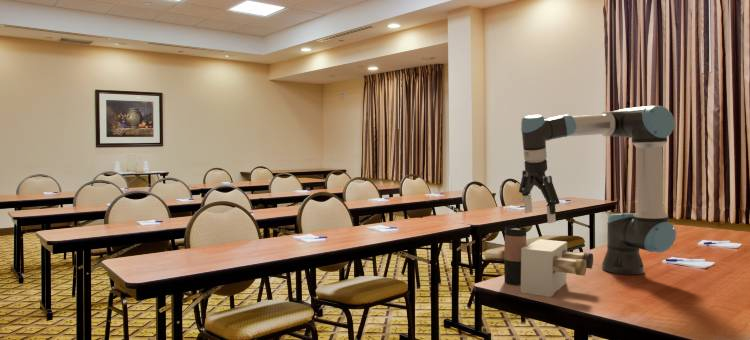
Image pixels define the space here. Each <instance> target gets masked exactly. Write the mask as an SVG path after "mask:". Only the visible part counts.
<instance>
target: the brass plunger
mask: <svg viewBox="0 0 750 340" xmlns="http://www.w3.org/2000/svg"><path fill="white" fill-rule="evenodd" d="M553 271H556V272H564V273H566V274H573V275H576V276H583V277H584V276H585V275H586V272H587V268H586V260H583V259H568V258H560V257H553Z"/></svg>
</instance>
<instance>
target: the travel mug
mask: <svg viewBox="0 0 750 340" xmlns="http://www.w3.org/2000/svg"><path fill="white" fill-rule="evenodd" d="M525 246H527V227H520V228H517V227H515V226H506V227H505V228H504V252H503V253H504V254H503V255H504V257H503V258H504V259H503V260H504V261H503V264H504V265H503V266H504V268H503V269H504V272H503V273H504V275H503V277H504V283H505V284H506V285H509V286H521V248H523V247H525Z"/></svg>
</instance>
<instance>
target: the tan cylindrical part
mask: <svg viewBox="0 0 750 340" xmlns="http://www.w3.org/2000/svg"><path fill="white" fill-rule="evenodd" d="M562 258H568V259H583V260H586V269H590V270H591V269H592V270H593V266H594V254H593V253H589V252H572V251H567V252H566V251H562Z"/></svg>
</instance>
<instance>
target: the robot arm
mask: <svg viewBox="0 0 750 340" xmlns="http://www.w3.org/2000/svg"><path fill="white" fill-rule="evenodd" d="M674 119H675V118H674V115H673V114H672V112H671V111H670V110H669V109H668V108H666V107H665V106H662V105H645V106H635V107H627V108H622V109H616V110H612V111H611V110H610V111H603V112H602V113H600V114H590V115H589V114H588V115H570V114H560V115H557V116H548V117H545V116H543V115H542V114H532V115H530V114H529V115H526V116H523V117H522V118H521V123H520V124H521V127H520V130H521V137H522V146H523V147H522V149H523V159H524V160H525V161H523V162H524V170H522V171H521V172H522V176H521V181H520V185H519V189H518V192H519V193H520V194H521V195H522V198H523V204H524V205H523V207H524V214H529V213H532V212H533V205H532V204H533V202H532V194H531V193H532V189H533V188H534V186H535V187H537V188H538V189H539V190H540V191H541V193H542V196H543V197H544V200H545V201H546V203H547V204H546V217H547V223H548V224H553V223H555V222H557V221H556V220H557V219H556V205H559V204H560V199H559V197H558V194H557V191H556V189H555V186H554V183H553V176H552V175H548V176H546V172H547V171H548V160H547V158H548V156H547V145H546V144H547V141H551V140H555V139H560V138H561V139H562V138H567V137H579V136H595V135H602V136H603V137H618V138H619V137H621V138H630V139H631V144H632V145H633V146H635V148H636V189H637V195H636V196H637V197H636V198H637V211H636V212H635V213H634V212H632V213H631V212H630V213H627V212H626V213H610V214H609V215H608V217H607V218H608V219H607V236H606V237H607V239H606V241H607V246H606V247H607V249H606V252H605V255H604V257H603V260H602V264H601V269H602V270H603V271H606V272H609V273H612V274H613V273H614V274H618V275H620V274H621V275H641V274H644V270H645V268H644V267H645V266H644V263H643V261H642V257H641V254H640V250H643V251H647V252H651V253H657V254H660V253H664V252H667V251H668V250H670V248H671V247H672V246H673V245H674V243H675V241H676V236H677V232H676V231H677V230H676V228H675V227H674V225H673V223H670V222H669V215H668V214H667V213H666V212H665V211H664V172H663V171H664V169H663V165H664V164H663V162H664V159H663V157H664V156H663V155H664V154H663V146H665V144H666V143H668V137H669V136H670V135H671V134H672V133H673V131H674V129H675V120H674Z"/></svg>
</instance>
